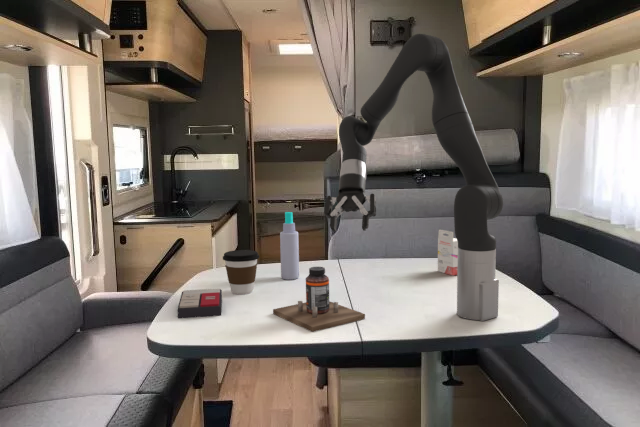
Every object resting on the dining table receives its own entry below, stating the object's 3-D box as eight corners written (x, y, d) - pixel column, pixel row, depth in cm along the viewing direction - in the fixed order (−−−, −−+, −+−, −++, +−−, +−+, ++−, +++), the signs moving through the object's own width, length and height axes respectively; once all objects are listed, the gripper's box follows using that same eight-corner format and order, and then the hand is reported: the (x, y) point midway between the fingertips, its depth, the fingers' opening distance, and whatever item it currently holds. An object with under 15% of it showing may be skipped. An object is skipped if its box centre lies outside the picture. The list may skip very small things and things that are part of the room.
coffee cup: (219, 290, 167) (217, 251, 165) (252, 285, 172) (251, 248, 170) (230, 298, 157) (229, 257, 156) (265, 293, 162) (264, 253, 160)
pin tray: (364, 318, 136) (364, 304, 136) (312, 331, 127) (312, 316, 127) (322, 303, 151) (322, 290, 151) (273, 313, 142) (272, 299, 141)
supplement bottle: (305, 308, 142) (304, 265, 141) (328, 307, 142) (327, 265, 141) (307, 315, 136) (305, 271, 135) (330, 314, 136) (329, 270, 135)
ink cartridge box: (464, 274, 183) (465, 231, 181) (452, 276, 181) (453, 232, 179) (448, 269, 191) (448, 227, 189) (436, 271, 188) (437, 229, 187)
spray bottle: (292, 280, 177) (291, 213, 175) (277, 278, 180) (275, 213, 178) (302, 277, 182) (301, 211, 180) (287, 275, 185) (286, 211, 183)
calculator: (177, 306, 138) (181, 288, 153) (177, 322, 139) (182, 303, 154) (220, 303, 140) (221, 286, 155) (221, 319, 141) (222, 300, 156)
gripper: (325, 173, 155) (320, 225, 148) (374, 170, 151) (371, 223, 144) (332, 186, 162) (327, 236, 155) (379, 183, 157) (376, 234, 150)
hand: (348, 230), depth 149 cm, fingers open, 8 cm apart
